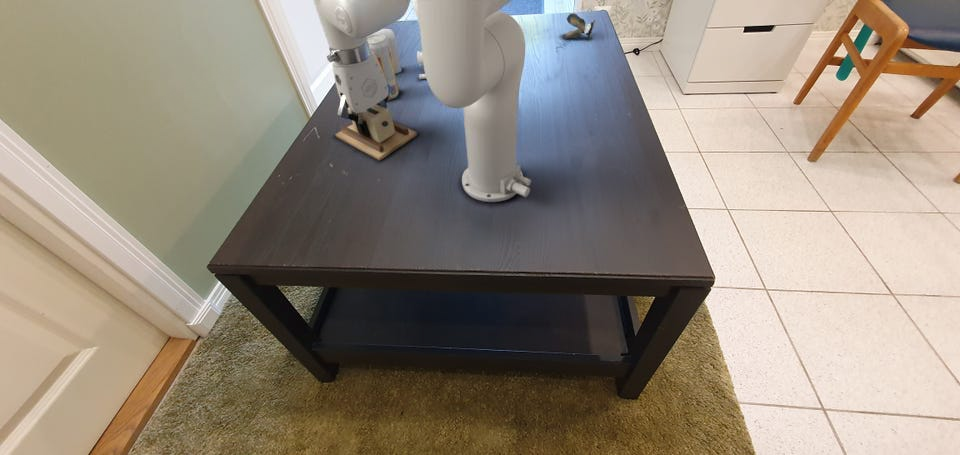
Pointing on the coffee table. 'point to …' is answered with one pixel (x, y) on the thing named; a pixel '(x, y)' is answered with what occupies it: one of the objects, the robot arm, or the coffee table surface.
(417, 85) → the coffee table surface
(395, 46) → the white curved piece
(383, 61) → the beer can
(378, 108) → the toaster
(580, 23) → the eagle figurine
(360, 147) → the cradle
